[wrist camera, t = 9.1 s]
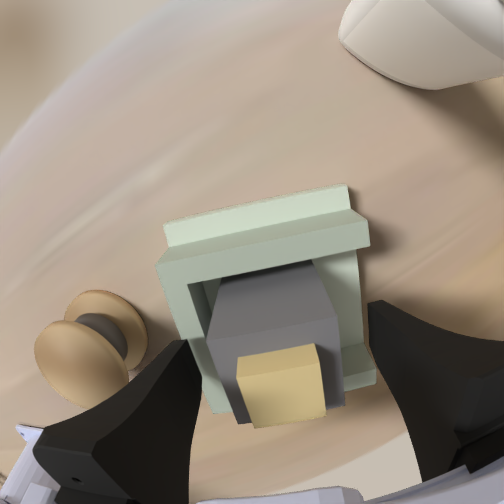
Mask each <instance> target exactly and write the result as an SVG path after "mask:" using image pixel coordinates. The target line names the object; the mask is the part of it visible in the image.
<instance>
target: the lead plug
mask: <svg viewBox="0 0 504 504" xmlns="http://www.w3.org/2000/svg"><path fill="white" fill-rule="evenodd" d="M206 342H207V345H208V348H209V351H210V353H211V356H212V359H213V362H214V364H215V367H216V370H217V372H218V375H219V378H220V380H221V383H222V385H223V388H224V390H225V393H226V396H227V398H228V401H229V403H230V406H231V408H232V411H233V413H234V416H235V418H236V420H237V423H238V424H245V423H253V426H254V428H262V427H269V426H276V425H282V424H288V423H294V422H299V421H305V420H310V419H315V418H320V417H324V416H326V410H327V409H332V408H336V407H340V406H345V396H344V382H343V370H342V358H341V348H340V338H339V328H338V319H337V314H336V312H335V310H334V308H333V305H332V303H331V301H330V299H329V297H328V294H327V292H326V290H325V288H324V286H323V283H322V281H321V279H320V277H319V275H318V273H317V270H316V268H315V266H314V264H313V262H312V260H311V259H308V260H304V261H299V262H294V263H289V264H285V265H280V266H275V267H270V268H265V269H260V270H256V271H251V272H246V273H241V274H236V275H231V276H226V277H222V278H221V282H220V286H219V290H218V294H217V298H216V302H215V306H214V310H213V314H212V318H211V322H210V326H209V331H208V335H207V339H206Z"/></svg>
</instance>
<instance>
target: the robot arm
mask: <svg viewBox="0 0 504 504" xmlns="http://www.w3.org/2000/svg"><path fill="white" fill-rule="evenodd" d="M367 306H368V324H369V346H370V348H371V351H372V354H373V357H374V359H375V362H376V364H377V366H378V368H379V370H380V372H381V374H382V376H383V378H384V379H385V381H386V383H387V385H388V387H389V389H390V391H391V392H392V394H393V396H394V398H395V400H396V402H397V404H398V406H399V408H400V410H401V413H402V415H403V418H404V421H405V424H406V426H407V429H408V432H409V435H410V438H411V442H412V445H413V448H414V451H415V455H416V459H417V462H418V466H419V470H420V474H421V478H422V483H420V484H418V485H415V486H412V487H409V488H406V489H403V490H401V491H398V492H395V493H391V494H388V495H385V496H382V497H378V498H375V499H371V500H368V501H364V500H363V496H362V495H361V494H360V492H359V491H358V490H356V489H353V488H347V487H341V486H334V487H323V488H315V489H309V490H303V491H297V492H290V493H283V494H274V495H264V496H253V497H239V498H218V499H210V500H203V501H200V502H198V503H196V504H504V341H495V340H486V339H479V338H474V337H469V336H464V335H460V334H457V333H453V332H450V331H447V330H444V329H441V328H439V327H436V326H434V325H431V324H429V323H427V322H424V321H422V320H420V319H418V318H416V317H414V316H412V315H410V314H408V313H406V312H404V311H402V310H400V309H398V308H397V307H395V306H393V305H391V304H389V303H387V302H385V301H383V300H379V301H375V302H372V303H368V304H367ZM201 394H202V375H201V372H200V370H199V367H198V365H197V362H196V360H195V357H194V355H193V352H192V350H191V347H190V345H189V342H188V339H183V340H176V341H173V342H172V343H170V344H169V345H168V346H167V347H166V348H165V349H164V350H163V351H162V352H161V353H160V354H159V355H158V356H157V357H156V358H155V359H154V360H153V361H152V362H151V363H150V364H149V365H148V366H147V367H146V368H145V369H144V370H143V371H142V372H140V373H139V374H138V375H137V376H136V377H135V378H134V379H133V380H132V381H130V382H129V383H128V384H127V385H126V386H124V387H123V388H122V389H121V390H119V391H118V392H116V393H115V394H114V395H112V396H111V397H109V398H108V399H106V400H105V401H103V402H101V403H100V404H98V405H96V406H95V407H93V408H91V409H89V410H87V411H85V412H83V413H81V414H79V415H77V416H75V417H72V418H70V419H67V420H65V421H62V422H59V423H56V424H53V425H50V426H47V427H45V428H44V429H40V428H34V427H28V426H23V425H17V426H16V429H17V431H18V432H19V433H20V435H21V436H22V437H23V438H24V439H25V441H26V442H27V445H26V447H25V448H24V450H23V452H22V453H21V455H20V457H19V458H18V460H17V462H16V464H15V465H14V467H13V469H12V471H11V472H10V474H9V476H8V478H7V479H6V481H5V483H4V485H3V487H2V488H1V490H0V504H189V465H190V451H191V444H192V438H193V434H194V429H195V425H196V420H197V416H198V411H199V406H200V401H201Z"/></svg>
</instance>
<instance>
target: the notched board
mask: <svg viewBox="0 0 504 504" xmlns="http://www.w3.org/2000/svg"><path fill="white" fill-rule="evenodd" d="M163 228H164V231H165V235H166V238H167V241H168V245H169V248H168V249H167V251H166V252H165V253H164V254H163V255H162V257H161V258H160V259H159V260H158V262H157V263H156V264H155V267H156V270H157V273H158V276H159V279H160V282H161V285H162V288H163V291H164V293H165V296H166V299H167V302H168V305H169V307H170V310H171V313H172V316H173V318H174V321H175V324H176V326H177V329H178V331H179V334H180V337H181V339H182V340H183V339H188V342H189V345H190V347H191V350H192V352H193V355H194V357H195V360H196V362H197V365H198V367H199V370H200V372H201V375H202V390H203V392H204V394H205V397H206V399H207V401H208V403H209V406H210V408H211V410H212V412H213V414H218V413H227V412H233V411H232V408H231V406H230V403H229V401H228V398H227V396H226V393H225V390H224V388H223V385H222V383H221V380H220V378H219V375H218V372H217V370H216V367H215V364H214V362H213V359H212V356H211V353H210V351H209V348H208V345H207V342H206V339H207V335H208V331H209V326H210V322H211V318H212V314H213V310H214V306H215V302H216V298H217V294H218V290H219V286H220V282H221V278H222V277H226V276H231V275H236V274H241V273H246V272H251V271H256V270H260V269H265V268H270V267H275V266H280V265H285V264H289V263H294V262H299V261H304V260H308V259H311V260H312V262H313V264H314V266H315V268H316V270H317V273H318V275H319V277H320V279H321V281H322V283H323V286H324V288H325V290H326V292H327V294H328V297H329V299H330V301H331V303H332V305H333V308H334V310H335V312H336V314H337V319H338V328H339V338H340V348H341V358H342V370H343V382H344V392H346V391H350V390H354V389H358V388H362V387H366V386H369V385H373V384H376V367H375V365H374V362H373V360H372V358H371V356H370V354H369V352H368V350H367V348H366V346H365V344H364V337H363V320H362V305H361V293H360V282H359V271H358V262H357V253H356V249H359V248H364V247H368V246H370V238H369V229H368V221H367V220H366V219H365V218H364V217H362V216H361V215H359V214H358V213H356V212H355V211H353V210H352V209H351V207H350V201H349V194H348V188H347V185H345V184H336V185H331V186H326V187H321V188H315V189H310V190H305V191H300V192H295V193H290V194H285V195H281V196H276V197H271V198H266V199H262V200H257V201H252V202H248V203H243V204H239V205H234V206H230V207H226V208H221V209H217V210H213V211H208V212H204V213H200V214H196V215H192V216H187V217H183V218H179V219H175V220H171V221H167V222H166V223H165V224H164V225H163Z"/></svg>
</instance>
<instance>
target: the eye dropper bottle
mask: <svg viewBox="0 0 504 504" xmlns="http://www.w3.org/2000/svg"><path fill="white" fill-rule="evenodd" d="M338 34H339V40H340V42H341V43H342V45H343V46H344V47H345V48H346V49H347V50H348V51H349V52H350V53H351V54H353V55H354V56H355V57H356V58H358V59H359V60H360V61H362V62H363V63H364V64H366V65H367V66H369V67H370V68H372V69H373V70H375V71H377V72H378V73H380V74H382V75H384V76H386V77H388V78H390V79H392V80H395V81H397V82H400V83H402V84H405V85H409V86H412V87H416V88H421V89H427V90H440V89H444V88H448V87H453V86H457V85H462V84H467V83H471V82H476V81H481V80H486V79H491V78H497V77H502V76H504V0H352V1H351V3H350V4H349V5H348V7H347V8H346V10H345V12H344V15H343V18H342V21H341V24H340V28H339V32H338Z"/></svg>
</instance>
